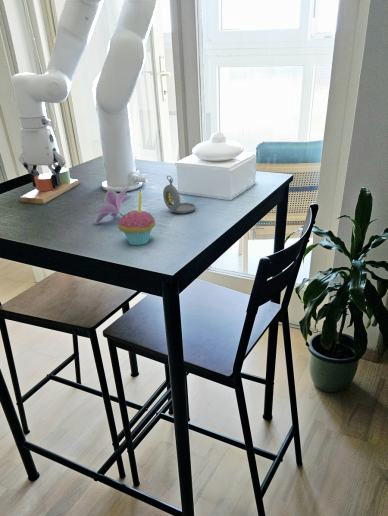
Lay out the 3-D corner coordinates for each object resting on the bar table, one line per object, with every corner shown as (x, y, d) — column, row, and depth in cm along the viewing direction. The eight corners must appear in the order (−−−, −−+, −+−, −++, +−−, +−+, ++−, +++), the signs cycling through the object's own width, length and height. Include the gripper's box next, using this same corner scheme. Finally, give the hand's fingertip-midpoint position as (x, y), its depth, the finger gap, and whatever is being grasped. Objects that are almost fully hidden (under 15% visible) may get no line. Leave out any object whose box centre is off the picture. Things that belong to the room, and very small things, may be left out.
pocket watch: (198, 207, 132) (197, 169, 126) (188, 217, 125) (186, 178, 120) (171, 205, 134) (168, 168, 129) (159, 215, 128) (156, 177, 122)
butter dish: (230, 200, 136) (230, 140, 127) (176, 193, 143) (173, 136, 134) (256, 183, 148) (257, 127, 139) (205, 177, 156) (203, 124, 147)
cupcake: (141, 232, 118) (136, 182, 112) (164, 240, 113) (160, 189, 107) (113, 242, 114) (106, 191, 107) (136, 252, 109) (129, 199, 102)
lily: (141, 217, 130) (122, 184, 127) (149, 213, 119) (130, 177, 116) (103, 239, 128) (83, 206, 125) (108, 237, 117) (87, 201, 114)
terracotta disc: (62, 185, 149) (59, 173, 147) (50, 191, 144) (48, 179, 142) (44, 184, 151) (42, 172, 149) (32, 190, 146) (29, 178, 144)
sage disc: (74, 179, 155) (72, 168, 153) (63, 185, 150) (61, 173, 148) (57, 178, 157) (55, 167, 155) (46, 184, 152) (43, 172, 150)
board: (78, 184, 155) (78, 179, 155) (43, 203, 140) (42, 198, 139) (57, 182, 158) (56, 178, 157) (20, 202, 142) (19, 197, 142)
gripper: (67, 121, 137) (78, 184, 147) (16, 119, 142) (30, 181, 152) (53, 126, 131) (64, 192, 142) (0, 124, 136) (15, 188, 147)
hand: (46, 185), depth 147 cm, fingers closed on terracotta disc, 6 cm apart
